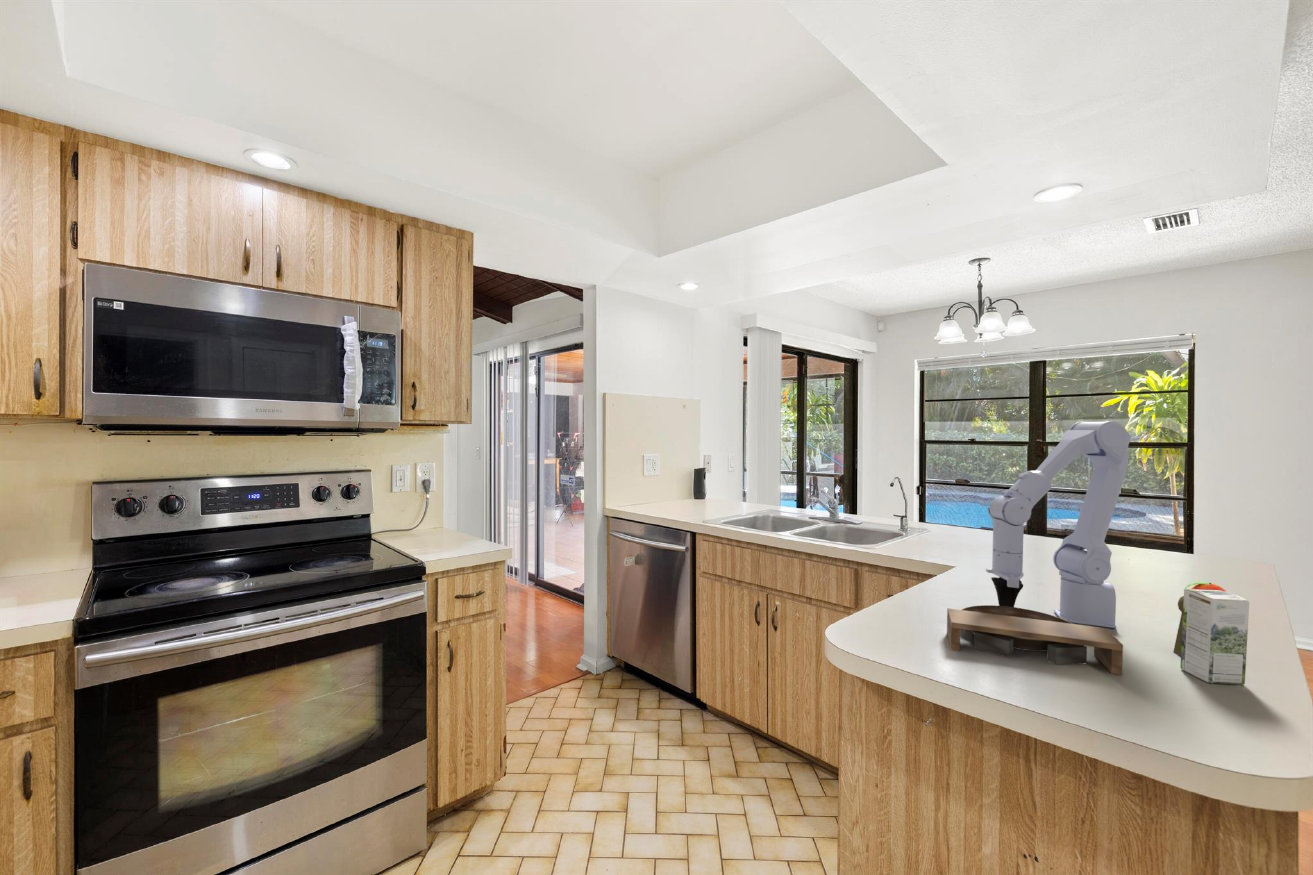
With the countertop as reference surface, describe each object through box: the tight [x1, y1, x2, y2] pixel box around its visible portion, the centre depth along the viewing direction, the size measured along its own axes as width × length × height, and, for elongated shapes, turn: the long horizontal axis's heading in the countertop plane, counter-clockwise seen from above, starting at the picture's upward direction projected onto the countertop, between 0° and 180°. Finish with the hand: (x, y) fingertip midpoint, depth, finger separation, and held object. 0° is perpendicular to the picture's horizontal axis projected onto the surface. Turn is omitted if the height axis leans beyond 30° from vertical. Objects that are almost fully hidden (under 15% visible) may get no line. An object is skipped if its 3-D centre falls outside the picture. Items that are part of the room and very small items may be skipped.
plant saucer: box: [961, 604, 1073, 652], centre depth 113 cm, size 21×21×3 cm
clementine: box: [1183, 582, 1227, 592], centre depth 130 cm, size 8×7×7 cm
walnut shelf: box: [946, 608, 1124, 676], centre depth 105 cm, size 26×9×5 cm, turn 67°
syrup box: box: [1179, 588, 1250, 686], centre depth 95 cm, size 6×6×14 cm
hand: (1006, 611), depth 124 cm, fingers closed
